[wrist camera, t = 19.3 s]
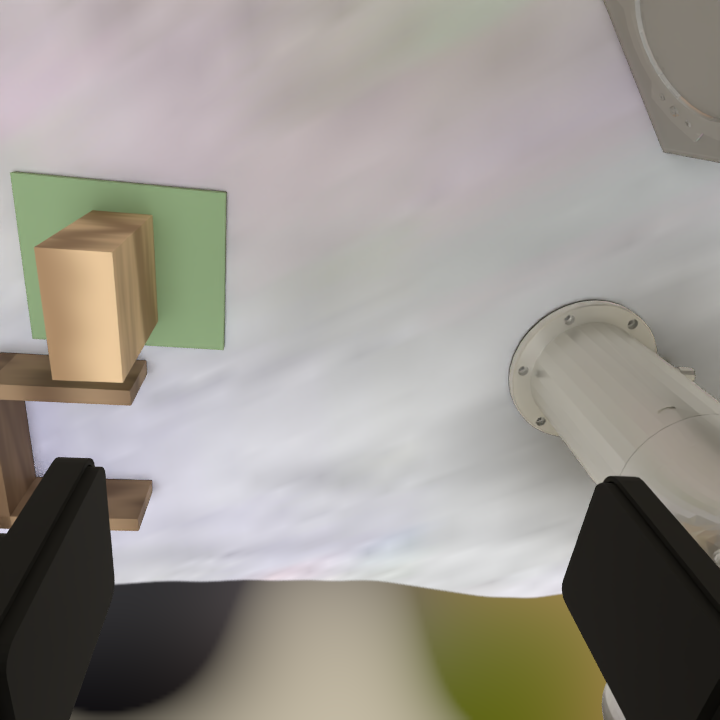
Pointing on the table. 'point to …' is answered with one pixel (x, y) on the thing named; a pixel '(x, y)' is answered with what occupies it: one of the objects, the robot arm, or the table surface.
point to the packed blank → (98, 295)
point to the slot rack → (13, 446)
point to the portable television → (675, 69)
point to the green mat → (171, 245)
